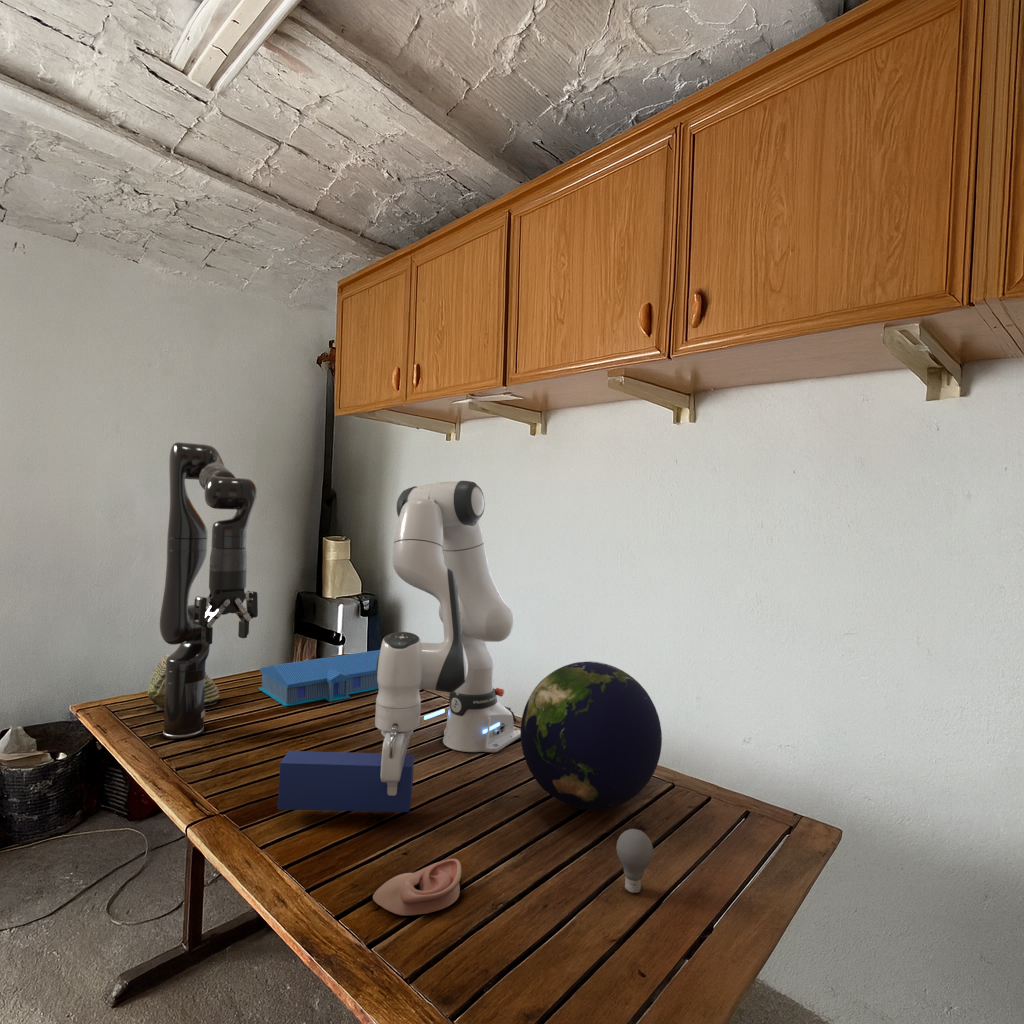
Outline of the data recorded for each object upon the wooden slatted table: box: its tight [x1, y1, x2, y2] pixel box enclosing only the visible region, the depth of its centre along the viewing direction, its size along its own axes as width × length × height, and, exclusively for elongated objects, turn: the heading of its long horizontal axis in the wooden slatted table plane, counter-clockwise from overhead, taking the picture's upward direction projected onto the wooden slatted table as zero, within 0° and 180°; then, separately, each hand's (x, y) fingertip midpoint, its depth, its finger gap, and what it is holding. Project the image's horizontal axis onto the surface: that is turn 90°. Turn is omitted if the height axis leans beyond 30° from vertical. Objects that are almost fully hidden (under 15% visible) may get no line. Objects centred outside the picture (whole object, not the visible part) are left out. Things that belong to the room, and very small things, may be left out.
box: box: [277, 750, 415, 813], centre depth 125 cm, size 25×6×9 cm, turn 94°
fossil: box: [147, 654, 221, 712], centre depth 185 cm, size 9×18×15 cm, turn 132°
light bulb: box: [615, 828, 654, 894], centre depth 106 cm, size 6×6×10 cm
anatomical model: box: [372, 858, 462, 917], centre depth 102 cm, size 13×4×12 cm
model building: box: [258, 649, 381, 707], centre depth 208 cm, size 39×24×10 cm, turn 132°
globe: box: [520, 660, 663, 811], centre depth 136 cm, size 30×30×30 cm
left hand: (225, 640), depth 140 cm, fingers open, 8 cm apart
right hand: (394, 785), depth 126 cm, fingers closed on box, 6 cm apart
